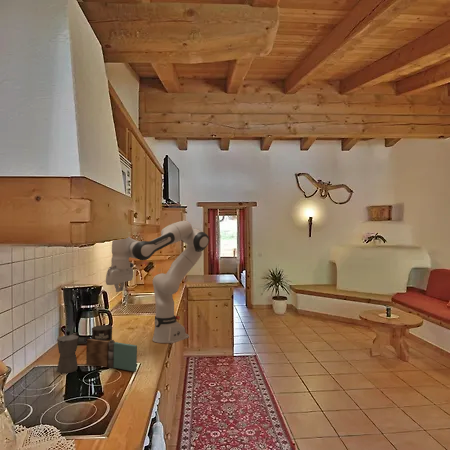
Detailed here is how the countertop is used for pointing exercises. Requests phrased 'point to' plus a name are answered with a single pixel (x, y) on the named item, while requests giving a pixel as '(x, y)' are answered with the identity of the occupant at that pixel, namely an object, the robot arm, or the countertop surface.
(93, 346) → the dark wooden block
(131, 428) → the countertop surface
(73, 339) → the coffeepot
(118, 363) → the teal flat block
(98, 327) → the coffee can
